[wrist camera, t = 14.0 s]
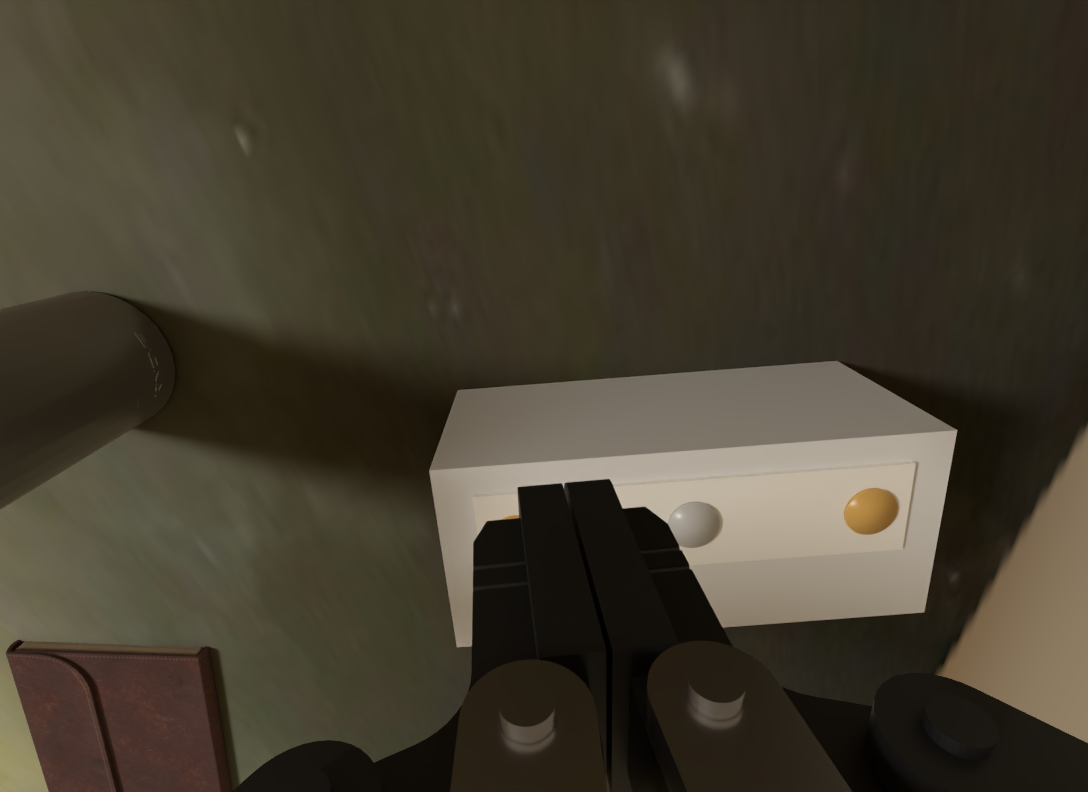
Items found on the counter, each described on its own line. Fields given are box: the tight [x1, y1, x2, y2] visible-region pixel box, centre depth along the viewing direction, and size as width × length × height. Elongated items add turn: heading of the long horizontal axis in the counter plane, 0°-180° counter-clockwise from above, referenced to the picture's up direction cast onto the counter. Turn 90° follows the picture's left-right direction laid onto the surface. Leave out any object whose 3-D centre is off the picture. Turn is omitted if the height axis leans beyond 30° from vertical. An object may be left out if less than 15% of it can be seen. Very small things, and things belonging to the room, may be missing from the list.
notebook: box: [6, 640, 232, 792], centre depth 50 cm, size 15×20×2 cm
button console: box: [429, 361, 957, 647], centre depth 36 cm, size 26×11×12 cm, turn 94°
